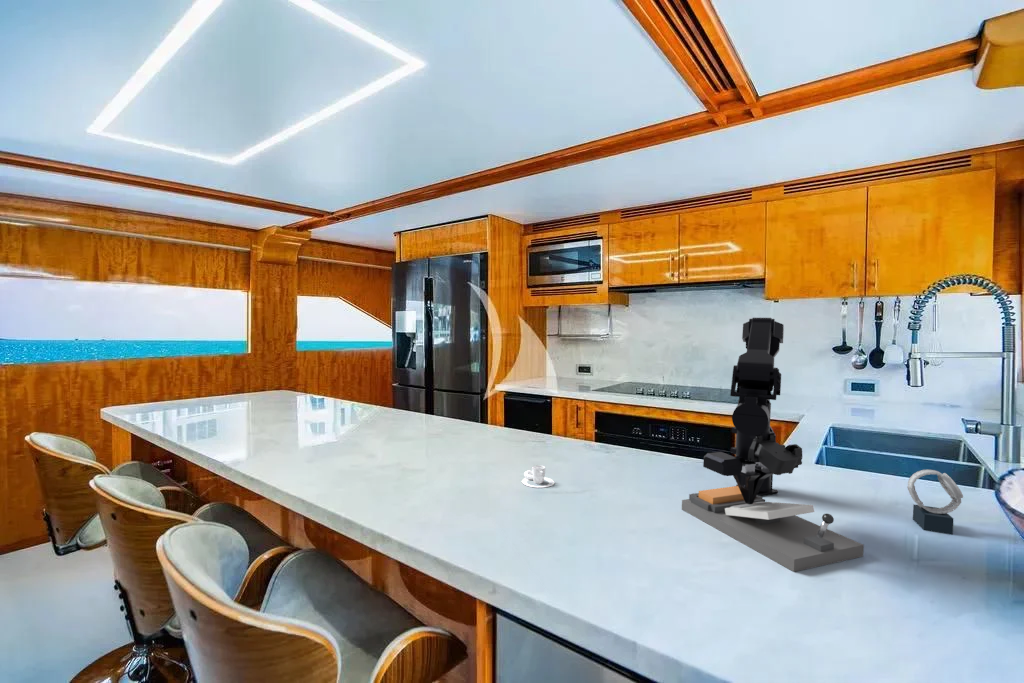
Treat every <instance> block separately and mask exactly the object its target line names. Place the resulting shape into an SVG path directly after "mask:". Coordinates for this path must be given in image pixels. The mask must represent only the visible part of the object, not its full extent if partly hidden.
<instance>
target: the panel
mask: <svg viewBox="0 0 1024 683" xmlns="http://www.w3.org/2000/svg"><path fill="white" fill-rule="evenodd" d="M756 502H766V499H765V498H763V496H762V495H761V496H758V495H756V498H755V500H754V502H753V503H756ZM742 504H747V503H745V501H744V500H740V501H733V502H726V503H720V504H711V503H709V502H707V501H705V500H703V499H701V498H699V492H695V493H689V494H688V498H686V499H682V500H681V510H682V511H683V512H685V513H687V514H689V515H691V516H693V517H695V518H696V519H698V520H700V521H702V522H703V523H706V524H707V525H709V526H711V527H713V528H715V529H716V530H719V531H720V532H721V533H723V534H725V535H727V536H728V537H730V538H733V540H736V541H738V542H740V543H741V544H743V545H745V546H747V547H748V548H750V549H751V550H754V551H756V552H757V553H759V554H761V555H763V556H765V557H766V558H768V559H770V560H772V561H774V562H775V563H777V564H779V565H780V566H782V567H784V568H786V569H787V570H790V571H792V572H793V573H794V572H795V573H796V572H800V571H803V570H804V571H805V570H808V569H813V568H818V567H822V566H826V565H830V564H835V563H839V562H844V561H849V560H853V559H857V558H862V557H864V545H865V544H864V543H863V544H862V543H861V542H859V541H856V540H853V539H851V538H849V537H847V536H844V535H841V534H839V533H837V532H835V531H832V530H830V529H828V528H827V530H826V532H825V534H824V536H823V537H822V538H819V537H818V536H817V533H818V530H819V528H820V526H821V525H819V524H816V523H814V522H812V521H809V520H807V519H804V518H803V517H800V516H798V515H794V516H788V517H782V518H776V519H770V520H768V519H759V518H750V517H741V516H732V515H726V513H725V508H730V507H731V506H736V505H742Z"/></svg>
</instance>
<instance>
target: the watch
mask: <svg viewBox="0 0 1024 683" xmlns="http://www.w3.org/2000/svg"><path fill="white" fill-rule="evenodd" d="M929 475H936V476H937V480H938V483H939V484H940V486H941V487H942V488H943V490H944V491H945V493H946V494H947V495H949V496H950V497H949V498H950V499H951V501H950V502H949V503H948V504H946V505H945V506H943V507H935V506H928V505H924V502H923V501H922V500H921V499H920V498H919V497H920V496H919V494H918V493H917V490H916V486H915V483H916V482H917V480H919V479H920V478H922V477H925V476H929ZM907 490H908V493H909V495H910V497H911V498H912V500H913V501H914V503H915V504H913V506H912V507H913V508H912V520H913V522H915V523H916V524H917V526H919V527H920V528H921V529H922V530H923V531H926V532H933V533H939V534H947V535H953V532H954V519H955V518H954V517H952V516H951V515H950V514H949V513H951V512H952V513H953V512H954V511H955V510H957V509H958V508H959V506H961V504H962V499H964V494H963V492H962V490H961V489H960V488H959V486H958V484H957V483H956V482H955V481H954V479H952V477H951V476H950V475H948V474H947V473H946V472H943V473H942V472H940V471H938V470H937V469H936V470H935V469H930V468H929V469H922V470H918V471H916V472H914V473H913V474H912V475H911V476H910V477H909V478H908V481H907Z"/></svg>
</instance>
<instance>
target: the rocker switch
mask: <svg viewBox="0 0 1024 683" xmlns="http://www.w3.org/2000/svg"><path fill="white" fill-rule="evenodd" d="M725 513H726V515H732V516H741V517H750V518H759V519H768V520H770V519H776V518H782V517H788V516H794V515H796V516H798V515H805V514H811V513H815V508H814V505H813V504H802V503H801V504H800V503H791V502H788V503H787V502H778V501H777V502H775V501H774V502H773V501H765V502H756V503H753V504H742V505H736V506H731V507H730V508H725Z"/></svg>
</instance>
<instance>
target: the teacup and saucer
mask: <svg viewBox="0 0 1024 683" xmlns="http://www.w3.org/2000/svg"><path fill="white" fill-rule="evenodd" d="M545 474H546V466H544V465H538V464H537V465H533V466H532V467H531V470H530V469H528V470H526V471H524V472H523V476H524V478H523V479H522V480H521V483H522V484H523V485H524V486H526V487H530V488H538V489H540V488H541V489H542V488H549V487H552V486H554V485H555V481H554V480H553V479H552V478H550V477H546V476H545ZM529 481H533V483H534V484H537V485H533V484H529V483H528V482H529ZM544 481H546V482H548V484H546V485H543V483H544ZM538 484H539V485H538ZM541 484H542V485H541Z"/></svg>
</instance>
